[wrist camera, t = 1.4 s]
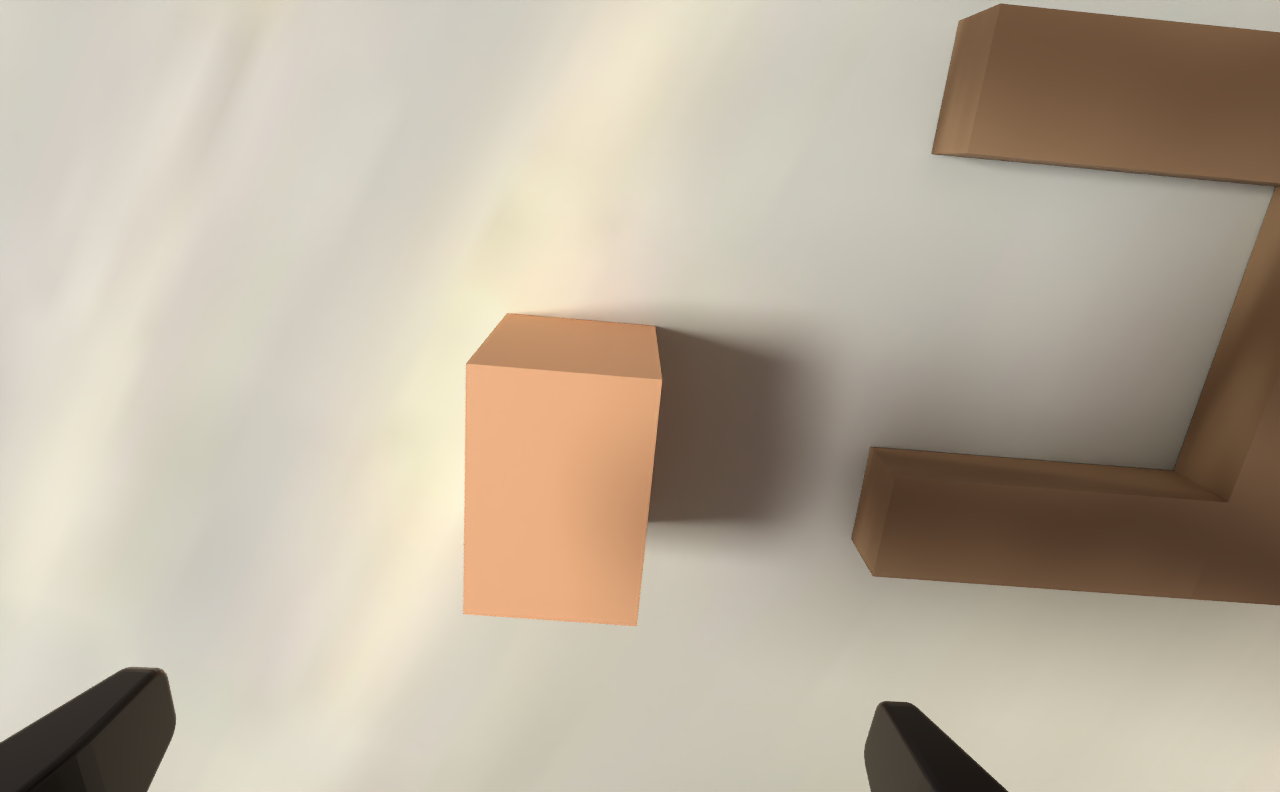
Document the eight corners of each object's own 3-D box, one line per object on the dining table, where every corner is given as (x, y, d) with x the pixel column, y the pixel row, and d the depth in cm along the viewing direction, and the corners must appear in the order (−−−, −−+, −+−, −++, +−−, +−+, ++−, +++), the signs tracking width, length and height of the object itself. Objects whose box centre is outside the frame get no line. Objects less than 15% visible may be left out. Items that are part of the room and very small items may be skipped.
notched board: (1267, 569, 22) (1327, 608, 20) (851, 538, 21) (872, 575, 19) (1478, 74, 17) (1583, 63, 15) (959, 20, 17) (1000, 3, 15)
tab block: (635, 521, 21) (636, 625, 16) (501, 511, 21) (463, 613, 16) (655, 325, 19) (661, 379, 14) (507, 313, 19) (465, 363, 14)
